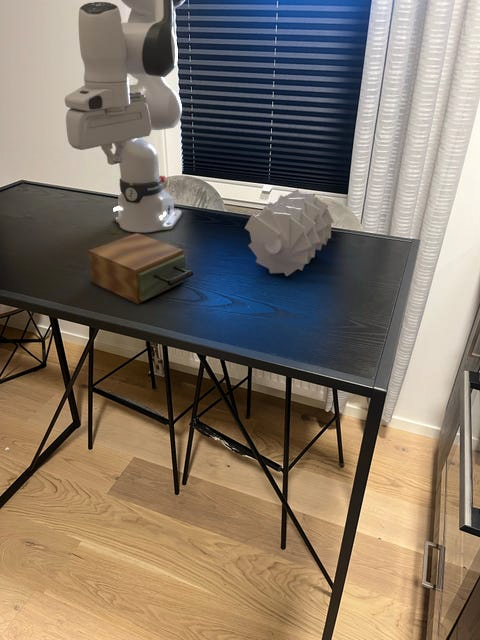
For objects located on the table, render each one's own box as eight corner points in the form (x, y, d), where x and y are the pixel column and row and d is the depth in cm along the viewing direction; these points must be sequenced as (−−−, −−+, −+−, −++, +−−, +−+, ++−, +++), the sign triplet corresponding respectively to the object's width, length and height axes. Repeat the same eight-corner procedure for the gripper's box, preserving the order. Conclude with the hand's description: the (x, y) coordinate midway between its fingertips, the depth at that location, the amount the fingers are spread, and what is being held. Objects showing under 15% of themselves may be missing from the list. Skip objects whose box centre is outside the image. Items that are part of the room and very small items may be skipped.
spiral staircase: (315, 262, 141) (285, 295, 121) (265, 227, 143) (228, 253, 122) (351, 210, 130) (325, 236, 110) (297, 172, 132) (262, 191, 112)
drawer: (203, 287, 115) (203, 262, 111) (161, 309, 105) (159, 283, 102) (144, 263, 125) (142, 239, 122) (100, 281, 116) (97, 256, 113)
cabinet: (184, 281, 119) (183, 249, 115) (137, 304, 109) (134, 270, 105) (139, 263, 127) (137, 232, 123) (92, 282, 117) (88, 250, 113)
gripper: (135, 89, 110) (140, 152, 118) (57, 98, 97) (68, 169, 104) (155, 92, 107) (159, 157, 115) (77, 102, 93) (87, 175, 101)
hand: (115, 163), depth 109 cm, fingers closed
